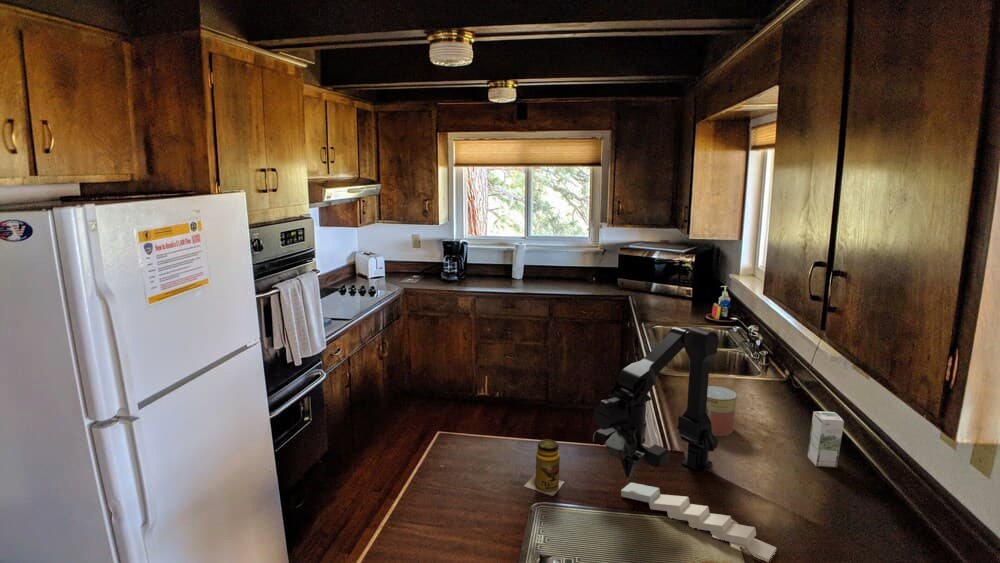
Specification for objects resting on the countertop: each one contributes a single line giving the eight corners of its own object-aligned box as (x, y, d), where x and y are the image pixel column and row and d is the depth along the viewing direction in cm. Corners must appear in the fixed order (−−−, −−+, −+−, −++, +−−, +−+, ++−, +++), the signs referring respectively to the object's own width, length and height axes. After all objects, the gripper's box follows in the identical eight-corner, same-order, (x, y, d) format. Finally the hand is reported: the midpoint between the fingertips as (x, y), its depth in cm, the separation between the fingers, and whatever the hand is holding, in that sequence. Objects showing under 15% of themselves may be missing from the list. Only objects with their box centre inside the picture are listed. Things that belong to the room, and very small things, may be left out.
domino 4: (697, 511, 132) (730, 515, 127) (698, 518, 132) (732, 522, 127) (688, 521, 129) (722, 525, 123) (689, 527, 129) (723, 533, 123)
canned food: (688, 422, 183) (691, 387, 180) (717, 418, 186) (720, 384, 183) (710, 437, 172) (714, 401, 170) (741, 433, 175) (744, 397, 173)
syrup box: (827, 457, 161) (834, 410, 158) (837, 468, 155) (844, 420, 152) (806, 456, 161) (812, 409, 158) (816, 467, 155) (822, 418, 153)
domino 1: (630, 482, 144) (659, 488, 139) (631, 488, 144) (660, 494, 139) (620, 490, 141) (649, 496, 135) (621, 496, 141) (650, 502, 135)
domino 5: (719, 521, 129) (755, 527, 123) (720, 527, 129) (756, 534, 123) (710, 531, 125) (746, 537, 119) (711, 538, 125) (747, 545, 119)
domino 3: (676, 502, 136) (708, 506, 130) (678, 508, 136) (709, 512, 130) (667, 511, 132) (698, 515, 127) (668, 517, 132) (700, 522, 127)
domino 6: (738, 531, 126) (776, 547, 120) (738, 537, 126) (775, 554, 121) (730, 541, 122) (768, 559, 117) (729, 548, 122) (767, 566, 117)
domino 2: (658, 494, 139) (688, 496, 134) (659, 500, 139) (689, 503, 134) (648, 502, 135) (679, 505, 130) (650, 509, 135) (681, 512, 130)
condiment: (553, 496, 140) (554, 452, 138) (523, 486, 145) (524, 444, 142) (564, 482, 147) (566, 440, 144) (535, 473, 151) (536, 432, 148)
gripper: (581, 417, 139) (579, 474, 142) (649, 443, 126) (645, 505, 129) (606, 404, 147) (603, 458, 150) (672, 427, 134) (668, 486, 137)
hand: (628, 476), depth 141 cm, fingers closed
